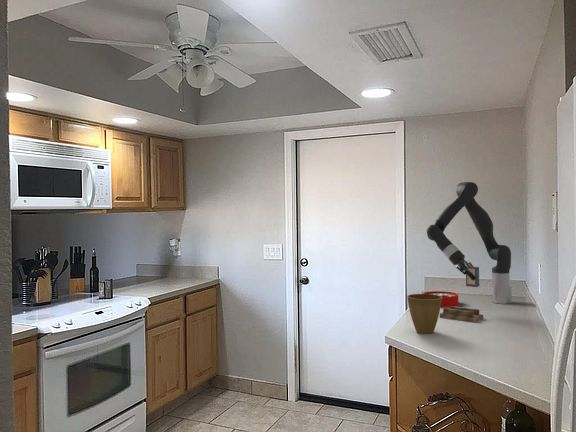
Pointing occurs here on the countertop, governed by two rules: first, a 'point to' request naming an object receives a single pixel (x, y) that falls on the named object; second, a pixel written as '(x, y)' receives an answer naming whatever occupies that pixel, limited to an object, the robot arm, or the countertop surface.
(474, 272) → the dark grey cuboid
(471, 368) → the countertop surface
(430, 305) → the plant pot
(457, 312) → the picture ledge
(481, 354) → the countertop surface
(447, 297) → the toy clock
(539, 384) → the countertop surface
